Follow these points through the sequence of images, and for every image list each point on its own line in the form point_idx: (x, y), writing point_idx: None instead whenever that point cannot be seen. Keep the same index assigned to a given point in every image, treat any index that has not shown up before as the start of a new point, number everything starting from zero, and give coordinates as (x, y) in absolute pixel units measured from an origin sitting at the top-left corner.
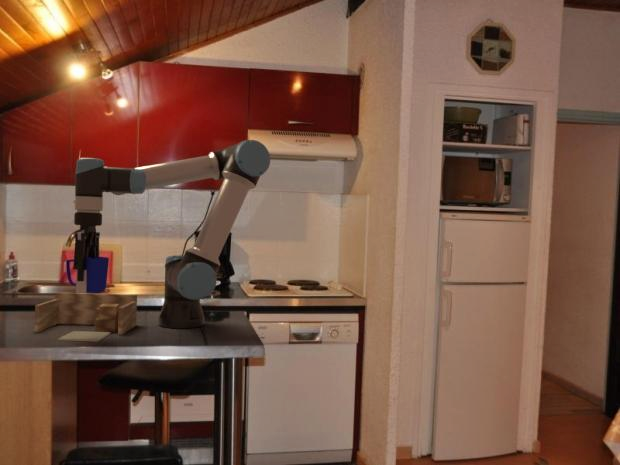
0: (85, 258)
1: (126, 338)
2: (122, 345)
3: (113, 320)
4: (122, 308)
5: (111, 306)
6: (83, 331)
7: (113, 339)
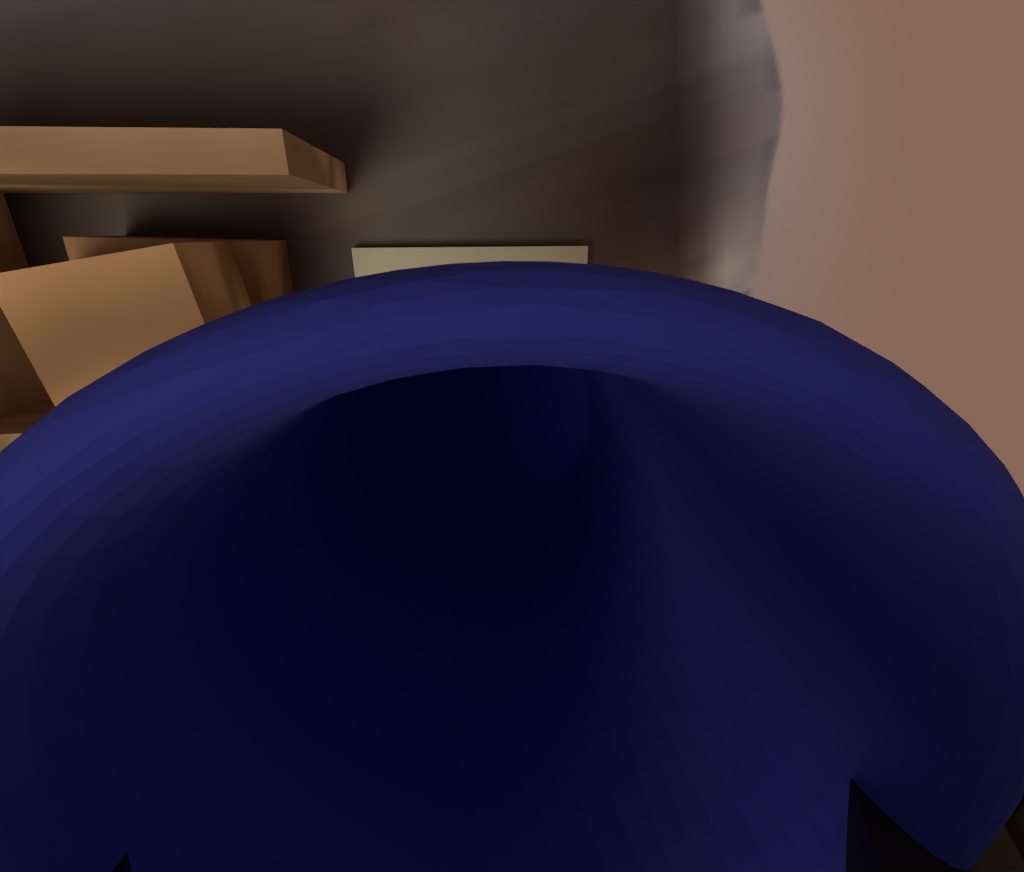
0: (1016, 867)
1: (463, 86)
2: (682, 44)
3: (256, 253)
4: (284, 131)
5: (187, 290)
6: None
7: (508, 170)
